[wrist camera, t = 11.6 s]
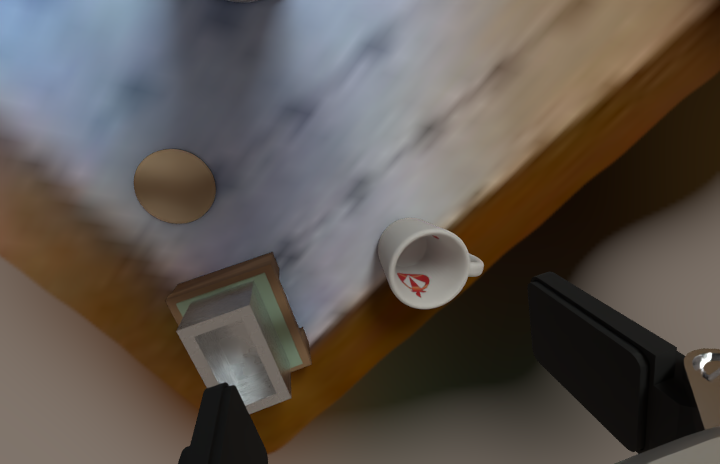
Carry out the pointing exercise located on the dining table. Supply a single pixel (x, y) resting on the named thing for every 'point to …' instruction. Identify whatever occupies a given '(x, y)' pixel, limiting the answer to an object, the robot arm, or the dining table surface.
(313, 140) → the dining table surface
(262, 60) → the dining table surface
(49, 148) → the dining table surface
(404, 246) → the cup
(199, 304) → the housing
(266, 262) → the stand
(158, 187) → the coaster
